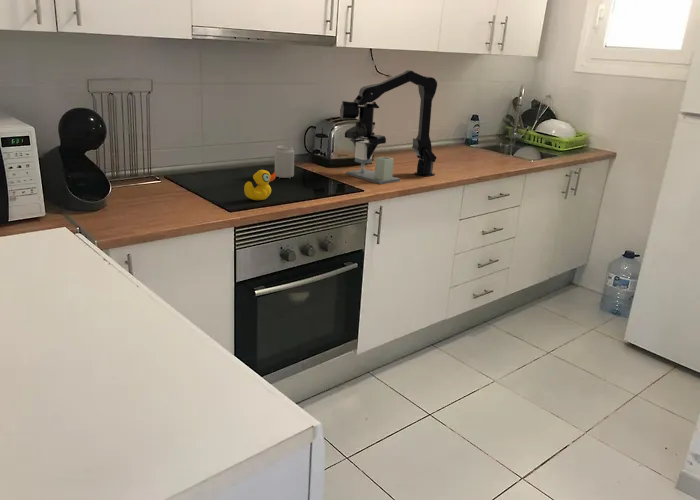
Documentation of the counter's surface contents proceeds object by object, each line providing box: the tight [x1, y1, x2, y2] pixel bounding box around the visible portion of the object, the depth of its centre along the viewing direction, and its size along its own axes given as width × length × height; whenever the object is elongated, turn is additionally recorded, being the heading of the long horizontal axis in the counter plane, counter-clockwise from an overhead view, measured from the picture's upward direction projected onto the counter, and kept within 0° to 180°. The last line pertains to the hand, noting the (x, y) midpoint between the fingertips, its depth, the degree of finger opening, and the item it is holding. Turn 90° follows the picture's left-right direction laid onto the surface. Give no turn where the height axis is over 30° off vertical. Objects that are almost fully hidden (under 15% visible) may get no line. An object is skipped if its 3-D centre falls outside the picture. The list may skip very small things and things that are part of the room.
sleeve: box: [354, 140, 373, 165], centre depth 237 cm, size 5×5×8 cm
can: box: [274, 145, 295, 179], centre depth 226 cm, size 8×8×12 cm
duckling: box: [243, 169, 277, 201], centre depth 193 cm, size 11×5×10 cm, turn 125°
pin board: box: [345, 156, 401, 185], centre depth 234 cm, size 11×20×9 cm, turn 42°
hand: (363, 158), depth 238 cm, fingers closed on sleeve, 5 cm apart
